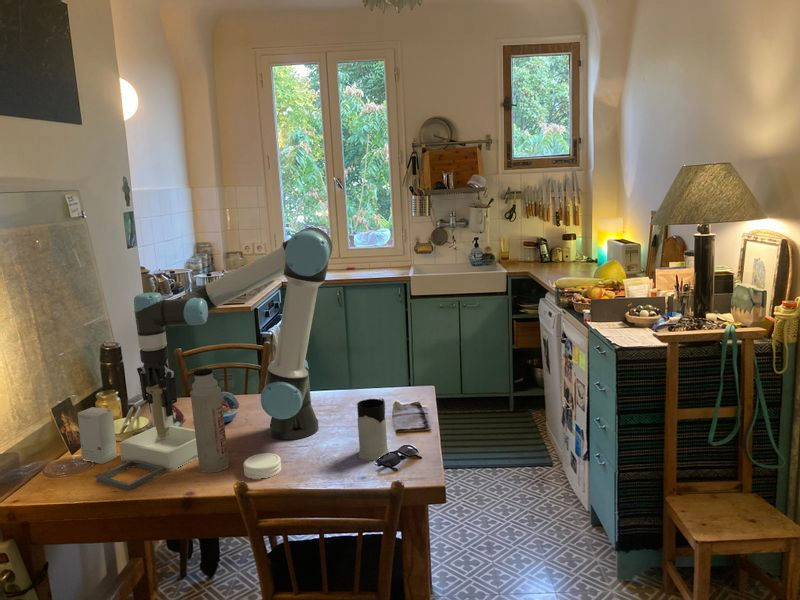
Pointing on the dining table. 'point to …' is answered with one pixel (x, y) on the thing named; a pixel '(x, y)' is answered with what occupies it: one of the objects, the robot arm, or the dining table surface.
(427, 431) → the dining table surface
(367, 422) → the white and black cylinder
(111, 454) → the skincare box
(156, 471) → the rectangular frame
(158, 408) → the handle
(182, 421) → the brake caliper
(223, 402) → the cell model
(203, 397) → the thermos bottle
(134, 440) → the parts bin
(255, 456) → the coaster
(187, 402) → the dining table surface
